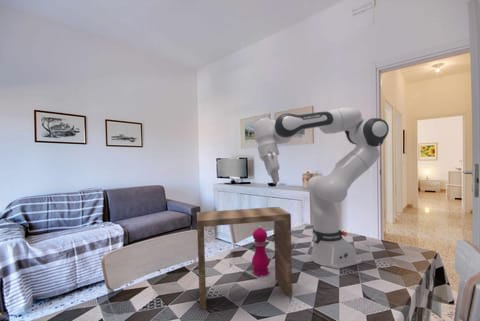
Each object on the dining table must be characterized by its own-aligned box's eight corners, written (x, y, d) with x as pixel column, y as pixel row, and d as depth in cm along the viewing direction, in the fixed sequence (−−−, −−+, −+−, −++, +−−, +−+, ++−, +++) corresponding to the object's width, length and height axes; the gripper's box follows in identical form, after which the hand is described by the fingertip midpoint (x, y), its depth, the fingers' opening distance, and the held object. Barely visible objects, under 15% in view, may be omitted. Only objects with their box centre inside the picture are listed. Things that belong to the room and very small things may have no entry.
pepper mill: (268, 277, 98) (267, 228, 97) (251, 275, 99) (249, 227, 98) (270, 268, 105) (269, 223, 104) (253, 267, 106) (252, 222, 106)
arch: (280, 278, 96) (278, 206, 95) (292, 295, 84) (290, 213, 84) (199, 289, 90) (196, 212, 89) (200, 309, 78) (197, 221, 77)
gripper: (277, 145, 98) (286, 178, 96) (274, 155, 119) (281, 183, 116) (262, 149, 99) (271, 182, 96) (261, 158, 119) (268, 186, 116)
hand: (276, 182), depth 106 cm, fingers open, 8 cm apart
